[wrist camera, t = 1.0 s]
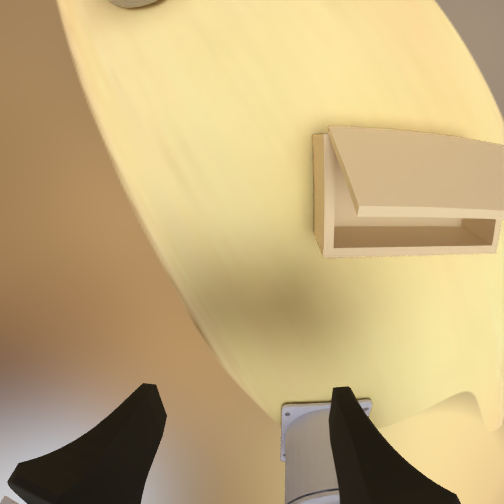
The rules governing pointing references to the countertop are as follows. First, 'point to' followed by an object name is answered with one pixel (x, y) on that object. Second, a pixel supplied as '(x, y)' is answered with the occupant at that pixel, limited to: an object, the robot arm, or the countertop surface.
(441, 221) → the carton
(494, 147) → the flap
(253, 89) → the countertop surface
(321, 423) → the robot arm
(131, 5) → the beverage can
